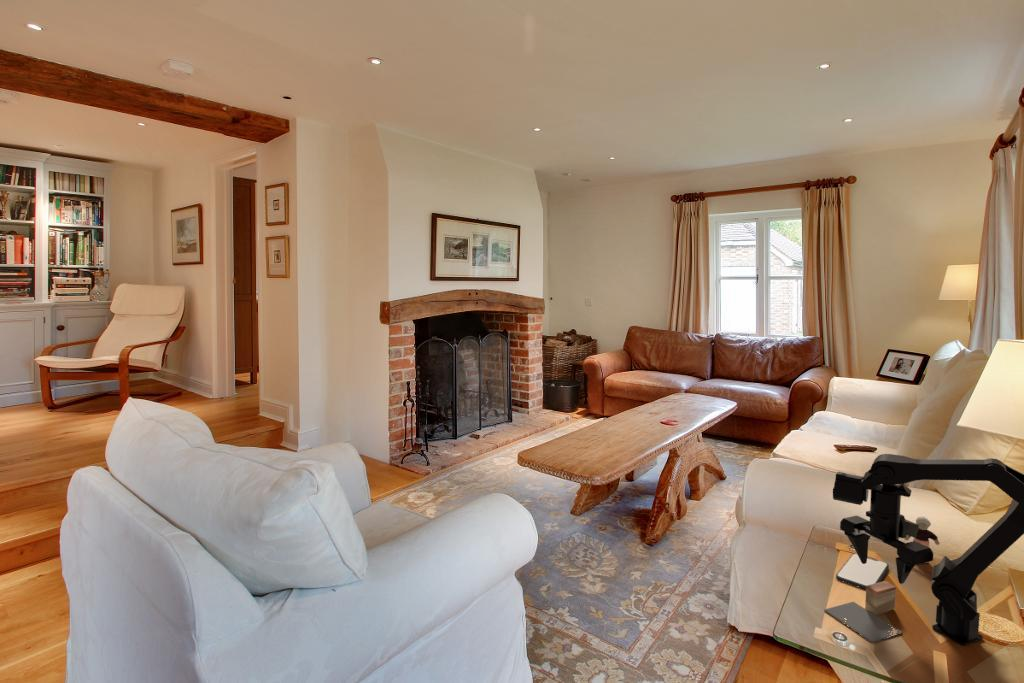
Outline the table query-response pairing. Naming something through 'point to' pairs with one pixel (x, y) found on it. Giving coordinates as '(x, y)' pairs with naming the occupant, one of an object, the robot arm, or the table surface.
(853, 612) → the felt mat
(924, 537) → the grandmother figurine
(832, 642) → the table surface
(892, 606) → the birch block
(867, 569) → the phone case
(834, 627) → the table surface
